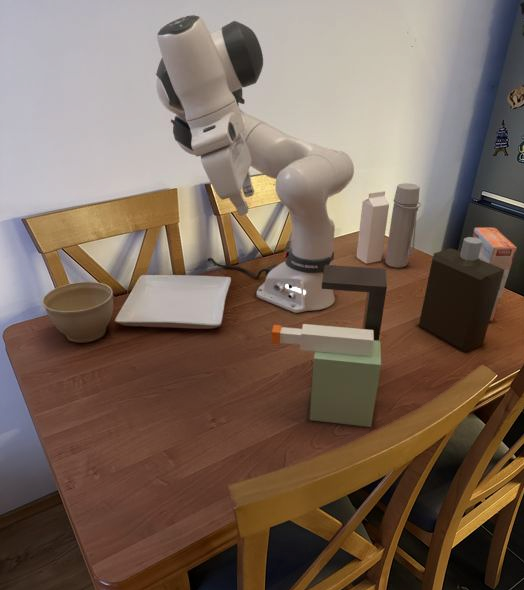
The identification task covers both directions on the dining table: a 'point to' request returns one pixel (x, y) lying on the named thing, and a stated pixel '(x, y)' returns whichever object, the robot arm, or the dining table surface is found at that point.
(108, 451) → the dining table surface
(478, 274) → the bottle
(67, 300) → the planter bowl
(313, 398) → the green block
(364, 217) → the milk
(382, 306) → the dark l-shaped bracket
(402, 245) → the water bottle
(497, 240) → the cracker box
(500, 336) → the dining table surface
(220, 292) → the square plate
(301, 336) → the white bottle
